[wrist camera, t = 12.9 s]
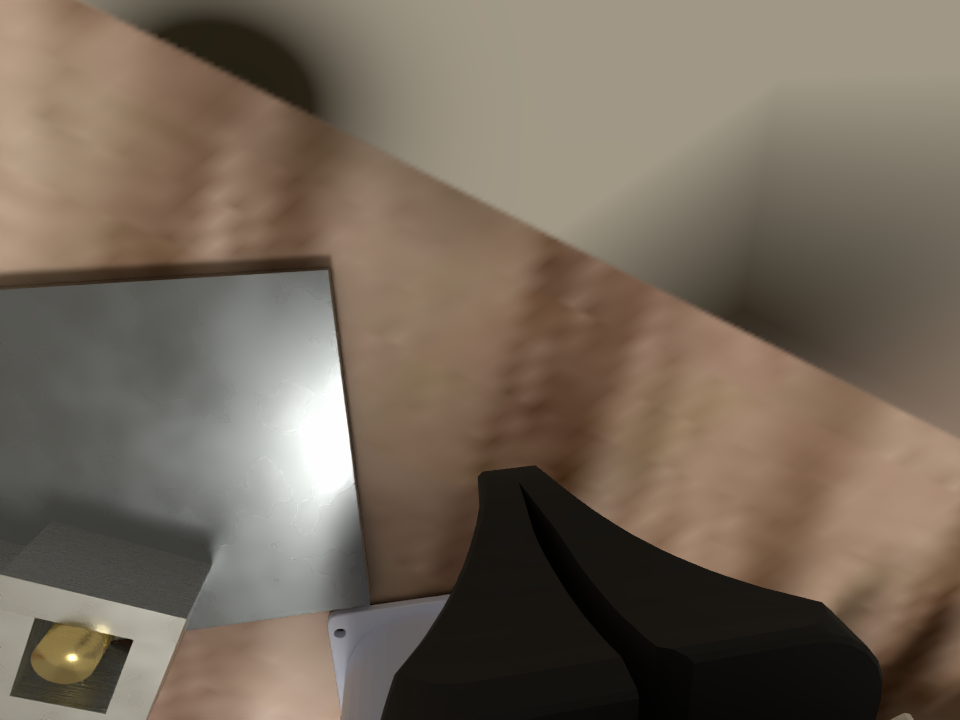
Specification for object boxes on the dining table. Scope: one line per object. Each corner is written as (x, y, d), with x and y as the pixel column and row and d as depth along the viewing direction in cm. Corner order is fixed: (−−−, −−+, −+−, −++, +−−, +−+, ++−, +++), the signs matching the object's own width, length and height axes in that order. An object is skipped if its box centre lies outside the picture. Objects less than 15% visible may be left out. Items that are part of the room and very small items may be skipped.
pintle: (144, 606, 23) (102, 678, 19) (92, 613, 22) (40, 688, 19) (133, 566, 22) (87, 634, 19) (79, 572, 22) (23, 642, 18)
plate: (370, 592, 25) (370, 604, 24) (-210, 671, 22) (-232, 688, 21) (330, 266, 20) (327, 269, 20) (-414, 311, 17) (-451, 317, 17)
